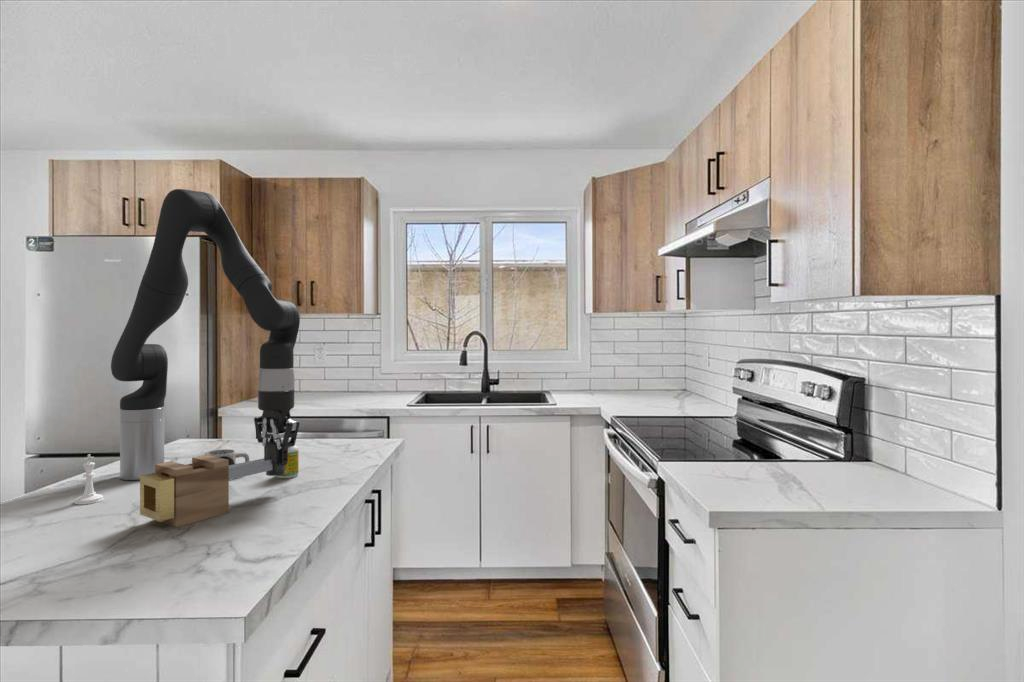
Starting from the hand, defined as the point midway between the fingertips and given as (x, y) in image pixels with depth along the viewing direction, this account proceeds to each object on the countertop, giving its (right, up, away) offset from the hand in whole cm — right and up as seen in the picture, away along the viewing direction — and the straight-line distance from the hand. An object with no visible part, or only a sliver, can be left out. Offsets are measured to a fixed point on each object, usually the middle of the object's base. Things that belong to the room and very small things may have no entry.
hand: (275, 463), depth 123 cm
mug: (-18, -7, +13) cm, 23 cm away
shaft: (-6, -2, -9) cm, 11 cm away
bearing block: (-10, -7, -15) cm, 19 cm away
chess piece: (-37, -7, -6) cm, 38 cm away
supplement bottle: (-4, -7, +15) cm, 17 cm away
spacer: (-13, -5, -21) cm, 25 cm away
